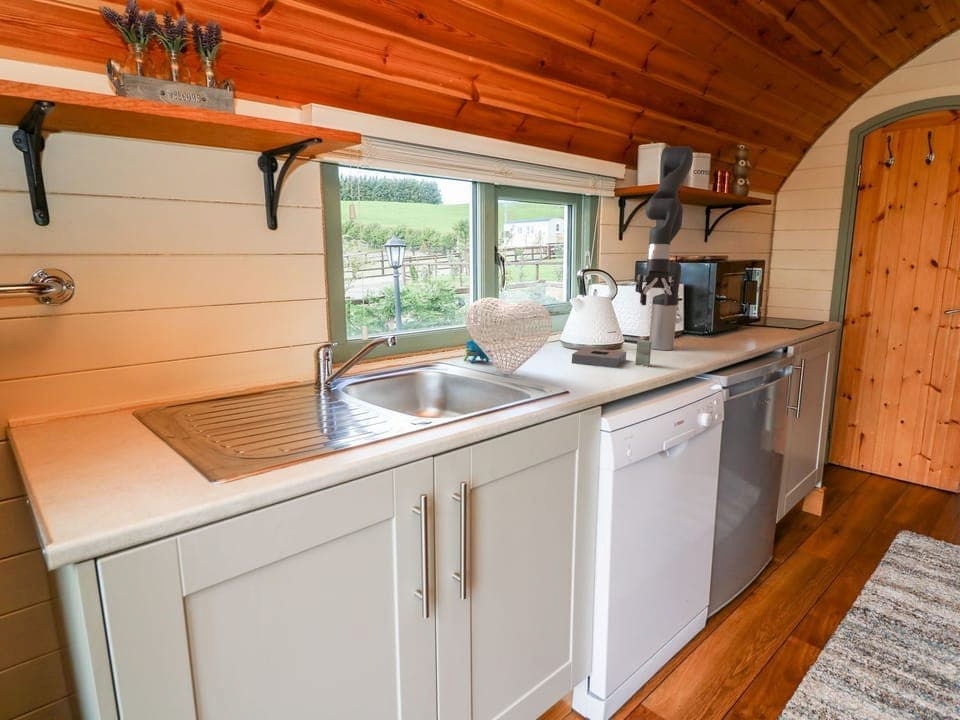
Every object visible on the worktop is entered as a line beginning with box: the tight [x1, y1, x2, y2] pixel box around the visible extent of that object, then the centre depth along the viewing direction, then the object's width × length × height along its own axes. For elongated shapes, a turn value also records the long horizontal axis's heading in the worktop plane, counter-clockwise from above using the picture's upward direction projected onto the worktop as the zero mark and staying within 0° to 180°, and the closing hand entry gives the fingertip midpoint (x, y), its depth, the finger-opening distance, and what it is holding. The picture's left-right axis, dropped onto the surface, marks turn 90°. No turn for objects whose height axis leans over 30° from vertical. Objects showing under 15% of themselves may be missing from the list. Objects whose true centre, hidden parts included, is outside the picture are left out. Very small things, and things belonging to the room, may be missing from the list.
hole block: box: [571, 347, 627, 369], centre depth 196 cm, size 15×15×3 cm
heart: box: [465, 296, 553, 375], centre depth 171 cm, size 28×16×22 cm, turn 47°
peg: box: [635, 339, 652, 367], centre depth 192 cm, size 4×4×8 cm
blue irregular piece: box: [463, 339, 493, 364], centre depth 189 cm, size 11×6×10 cm
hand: (654, 305), depth 201 cm, fingers open, 8 cm apart
